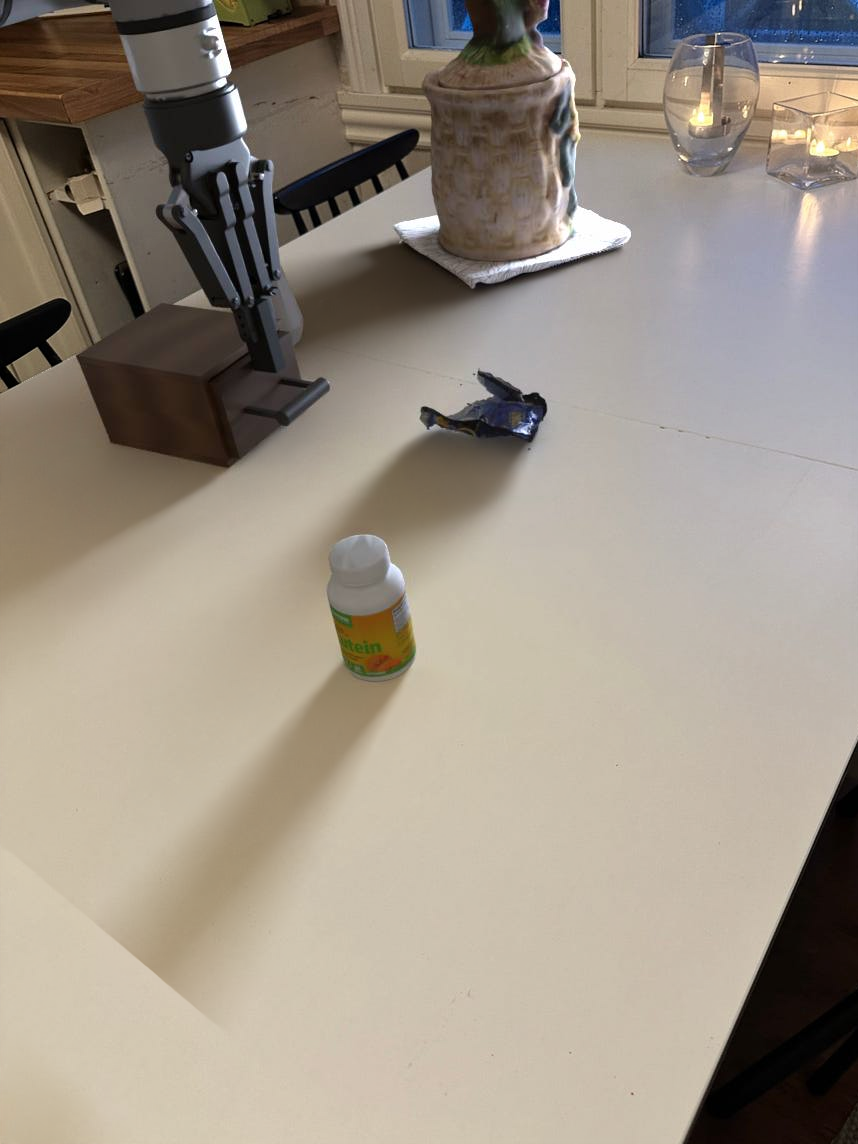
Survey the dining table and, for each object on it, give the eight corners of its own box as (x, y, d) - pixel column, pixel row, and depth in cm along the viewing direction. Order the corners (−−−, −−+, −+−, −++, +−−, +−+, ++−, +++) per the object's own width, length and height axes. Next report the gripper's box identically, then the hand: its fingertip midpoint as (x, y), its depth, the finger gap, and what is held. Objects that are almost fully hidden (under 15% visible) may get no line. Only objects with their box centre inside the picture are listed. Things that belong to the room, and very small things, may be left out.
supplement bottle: (332, 675, 69) (302, 569, 63) (364, 628, 73) (340, 523, 66) (399, 690, 67) (376, 582, 61) (429, 640, 71) (410, 533, 65)
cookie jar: (474, 295, 118) (443, -15, 97) (389, 242, 135) (347, -33, 113) (637, 243, 126) (642, -55, 104) (538, 199, 142) (525, -66, 121)
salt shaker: (267, 331, 116) (239, 220, 107) (312, 330, 115) (287, 218, 106) (252, 353, 112) (221, 240, 103) (299, 352, 111) (272, 237, 102)
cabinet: (303, 407, 100) (281, 318, 94) (228, 468, 92) (200, 376, 86) (188, 386, 107) (161, 302, 100) (110, 442, 99) (75, 355, 92)
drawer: (349, 411, 97) (335, 337, 92) (284, 468, 90) (264, 392, 84) (199, 384, 105) (177, 315, 100) (127, 435, 97) (100, 364, 92)
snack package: (474, 391, 100) (401, 440, 93) (478, 335, 95) (401, 381, 88) (570, 436, 95) (500, 491, 88) (579, 379, 90) (506, 432, 84)
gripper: (167, 109, 69) (260, 405, 85) (274, 64, 77) (340, 341, 93) (94, 112, 72) (196, 396, 88) (203, 68, 81) (279, 335, 96)
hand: (270, 368), depth 90 cm, fingers closed
